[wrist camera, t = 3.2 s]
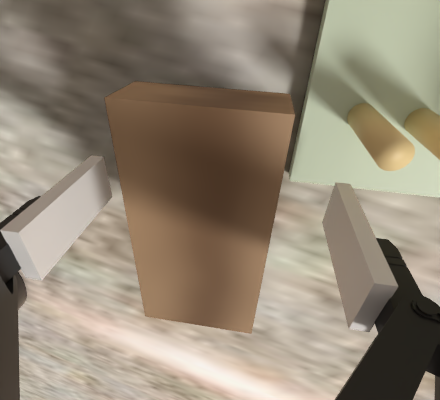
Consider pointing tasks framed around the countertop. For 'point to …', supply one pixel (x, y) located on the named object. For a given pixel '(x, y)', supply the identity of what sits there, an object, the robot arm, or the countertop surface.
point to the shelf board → (200, 194)
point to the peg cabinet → (373, 99)
